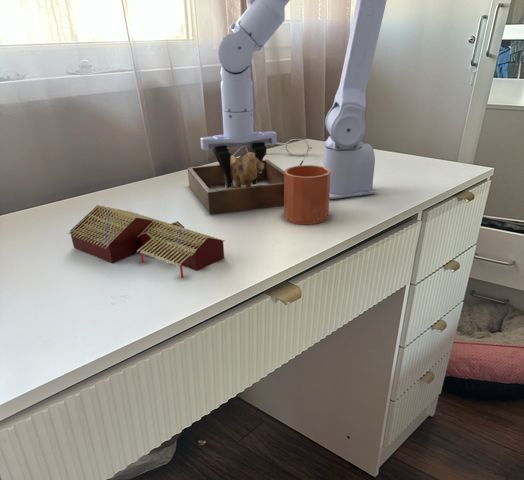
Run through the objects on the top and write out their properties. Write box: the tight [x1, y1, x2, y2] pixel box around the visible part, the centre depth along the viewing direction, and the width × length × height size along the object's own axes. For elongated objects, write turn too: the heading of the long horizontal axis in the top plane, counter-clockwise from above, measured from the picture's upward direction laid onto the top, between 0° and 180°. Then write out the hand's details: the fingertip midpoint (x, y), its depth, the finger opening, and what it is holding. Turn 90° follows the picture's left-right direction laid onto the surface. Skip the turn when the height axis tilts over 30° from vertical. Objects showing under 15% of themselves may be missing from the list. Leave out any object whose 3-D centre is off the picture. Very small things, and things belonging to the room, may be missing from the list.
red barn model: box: [67, 204, 226, 279], centre depth 77 cm, size 22×13×5 cm, turn 51°
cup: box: [283, 164, 331, 226], centre depth 88 cm, size 8×8×8 cm
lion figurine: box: [222, 151, 265, 189], centre depth 100 cm, size 15×5×9 cm, turn 32°
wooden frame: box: [187, 159, 284, 215], centre depth 101 cm, size 18×19×4 cm
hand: (240, 184), depth 101 cm, fingers closed on lion figurine, 4 cm apart
